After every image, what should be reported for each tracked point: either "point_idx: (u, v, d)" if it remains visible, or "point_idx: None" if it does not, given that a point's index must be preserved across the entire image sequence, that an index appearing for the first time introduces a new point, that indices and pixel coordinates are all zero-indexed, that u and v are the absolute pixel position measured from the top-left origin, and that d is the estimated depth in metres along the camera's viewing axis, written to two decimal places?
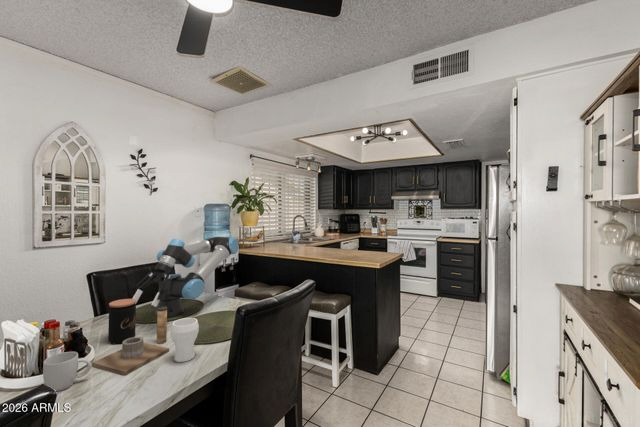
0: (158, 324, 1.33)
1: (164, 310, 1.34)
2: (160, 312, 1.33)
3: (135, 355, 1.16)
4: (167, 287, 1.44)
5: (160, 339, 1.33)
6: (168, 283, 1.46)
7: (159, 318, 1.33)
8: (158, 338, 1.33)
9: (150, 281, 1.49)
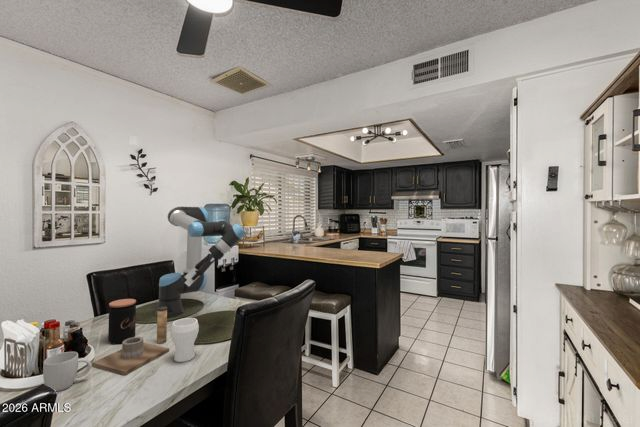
0: (158, 324, 1.33)
1: (164, 310, 1.34)
2: (160, 312, 1.33)
3: (135, 355, 1.16)
4: None
5: (160, 339, 1.33)
6: None
7: (159, 318, 1.33)
8: (158, 338, 1.33)
9: None
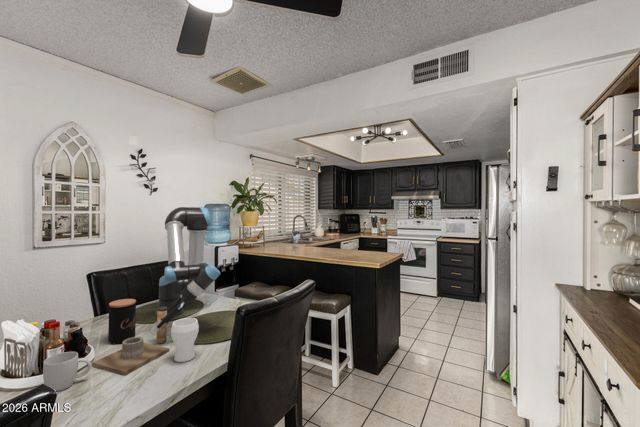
0: None
1: (164, 310, 1.34)
2: (160, 312, 1.33)
3: (135, 355, 1.16)
4: None
5: (160, 339, 1.33)
6: None
7: (159, 318, 1.33)
8: (158, 338, 1.33)
9: None
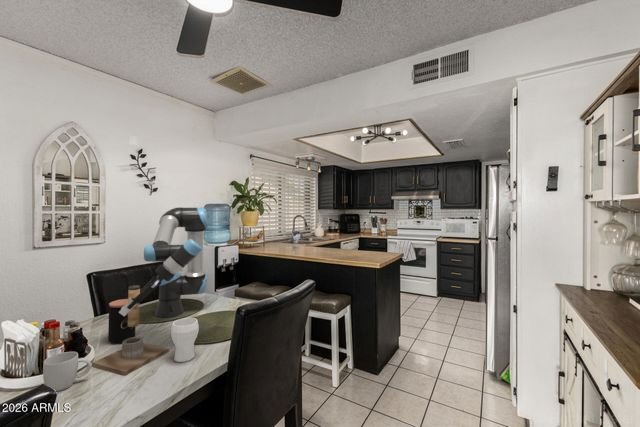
0: None
1: (136, 289, 1.18)
2: (131, 291, 1.17)
3: (135, 355, 1.16)
4: None
5: (131, 322, 1.17)
6: None
7: (130, 298, 1.17)
8: (129, 320, 1.17)
9: None
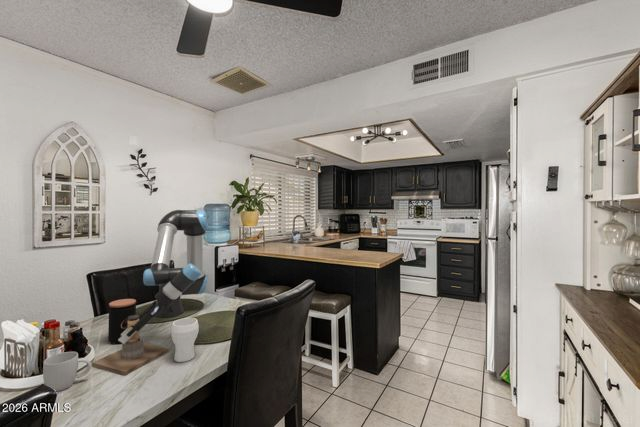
0: None
1: (136, 319, 1.18)
2: (130, 322, 1.17)
3: (135, 355, 1.16)
4: None
5: None
6: None
7: (129, 328, 1.17)
8: None
9: None
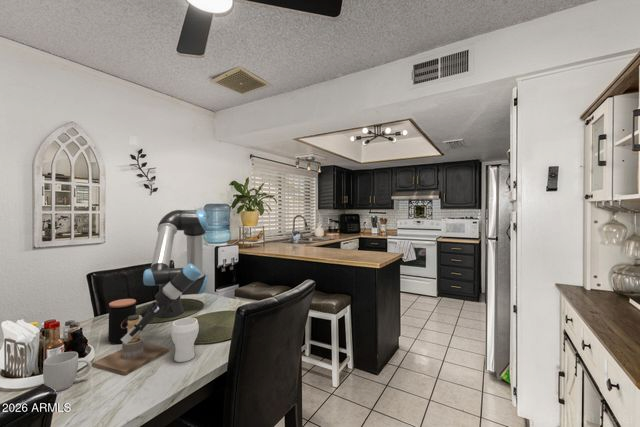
0: None
1: (136, 319, 1.18)
2: (131, 321, 1.17)
3: (135, 355, 1.16)
4: None
5: None
6: None
7: (129, 328, 1.17)
8: None
9: None
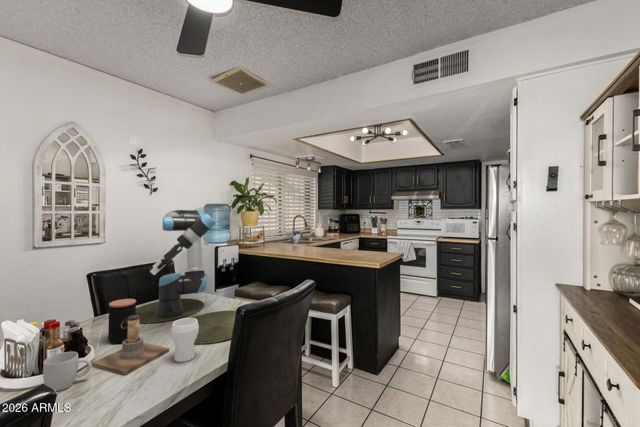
0: (128, 335, 1.17)
1: (136, 319, 1.18)
2: (131, 321, 1.17)
3: (135, 355, 1.16)
4: None
5: None
6: None
7: (129, 328, 1.17)
8: None
9: None
